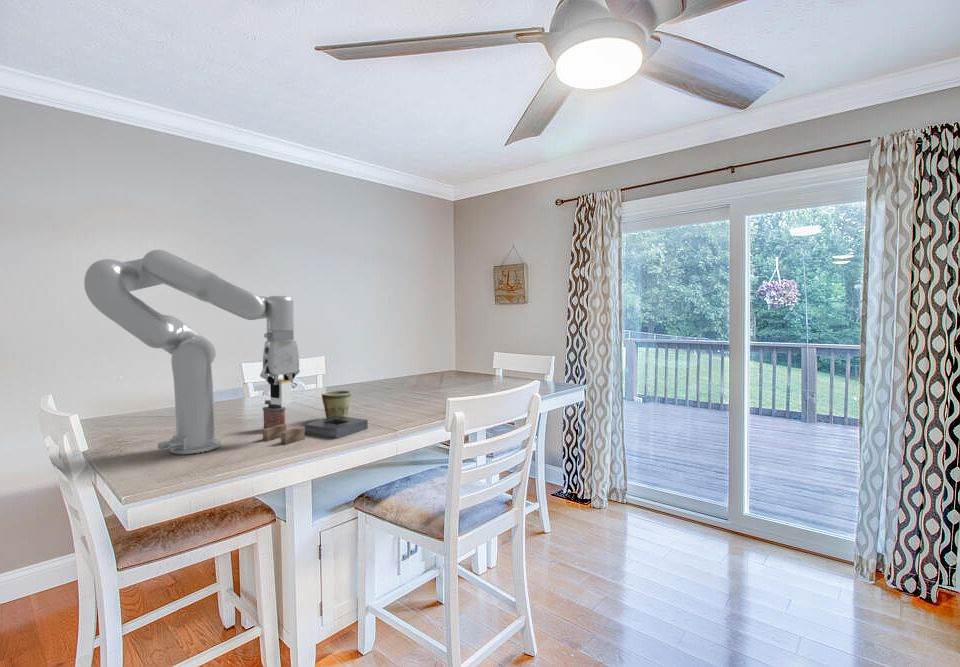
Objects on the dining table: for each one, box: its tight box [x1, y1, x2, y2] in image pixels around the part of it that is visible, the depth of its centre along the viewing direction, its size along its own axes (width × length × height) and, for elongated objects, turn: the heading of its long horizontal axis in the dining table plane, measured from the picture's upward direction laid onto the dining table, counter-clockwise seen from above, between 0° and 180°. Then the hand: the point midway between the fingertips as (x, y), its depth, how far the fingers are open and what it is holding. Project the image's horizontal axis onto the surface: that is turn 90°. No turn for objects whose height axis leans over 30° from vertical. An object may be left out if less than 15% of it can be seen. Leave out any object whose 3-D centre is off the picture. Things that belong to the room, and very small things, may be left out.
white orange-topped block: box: [270, 379, 292, 406], centre depth 147 cm, size 4×5×7 cm
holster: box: [262, 424, 305, 445], centre depth 148 cm, size 7×10×4 cm
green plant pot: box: [321, 390, 352, 419], centre depth 174 cm, size 13×10×10 cm
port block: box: [303, 416, 369, 440], centre depth 157 cm, size 14×14×3 cm
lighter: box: [262, 399, 286, 430], centre depth 160 cm, size 8×3×10 cm, turn 74°
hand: (280, 395), depth 147 cm, fingers closed on white orange-topped block, 3 cm apart
